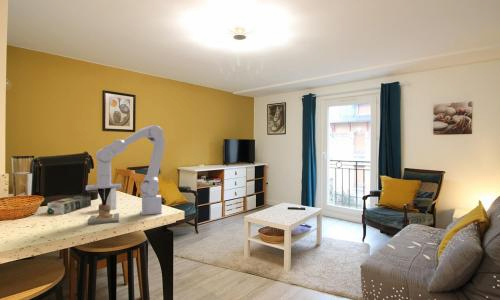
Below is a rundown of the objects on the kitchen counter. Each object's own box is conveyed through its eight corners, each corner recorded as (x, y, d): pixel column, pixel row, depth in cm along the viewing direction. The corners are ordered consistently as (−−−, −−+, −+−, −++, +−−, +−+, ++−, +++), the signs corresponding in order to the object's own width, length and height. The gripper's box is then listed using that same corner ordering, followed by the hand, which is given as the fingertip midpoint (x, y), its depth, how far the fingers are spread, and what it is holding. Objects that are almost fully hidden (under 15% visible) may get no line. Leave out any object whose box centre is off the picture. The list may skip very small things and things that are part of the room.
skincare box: (116, 208, 152) (116, 186, 151) (110, 210, 148) (110, 187, 147) (107, 207, 154) (107, 185, 153) (101, 209, 149) (101, 186, 149)
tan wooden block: (110, 216, 133) (110, 203, 133) (109, 218, 129) (109, 205, 129) (99, 216, 131) (99, 204, 131) (98, 219, 127) (98, 206, 127)
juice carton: (62, 215, 138) (62, 202, 138) (44, 214, 139) (44, 202, 139) (91, 206, 157) (91, 195, 157) (76, 205, 159) (76, 194, 159)
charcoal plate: (119, 215, 138) (119, 212, 138) (118, 222, 127) (118, 218, 127) (90, 217, 133) (90, 214, 133) (88, 224, 122) (87, 221, 122)
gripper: (121, 173, 136) (121, 201, 137) (86, 174, 130) (87, 204, 131) (121, 175, 130) (121, 205, 130) (85, 176, 124) (85, 207, 124)
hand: (104, 204), depth 130 cm, fingers closed, pressing on tan wooden block
